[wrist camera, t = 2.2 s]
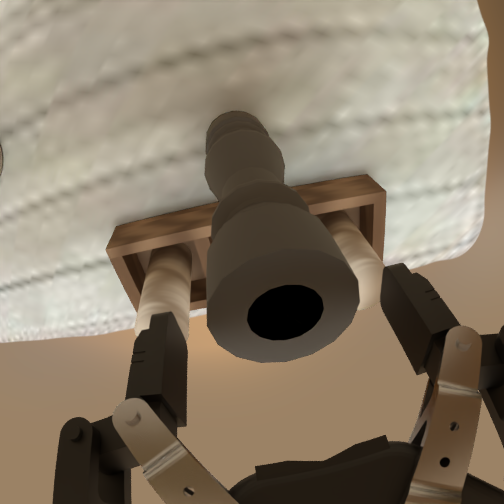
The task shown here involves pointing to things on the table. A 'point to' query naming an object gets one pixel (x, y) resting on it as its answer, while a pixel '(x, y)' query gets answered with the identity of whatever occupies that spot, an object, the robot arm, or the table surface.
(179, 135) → the table surface
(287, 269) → the candle holder
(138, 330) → the wooden candle tray
